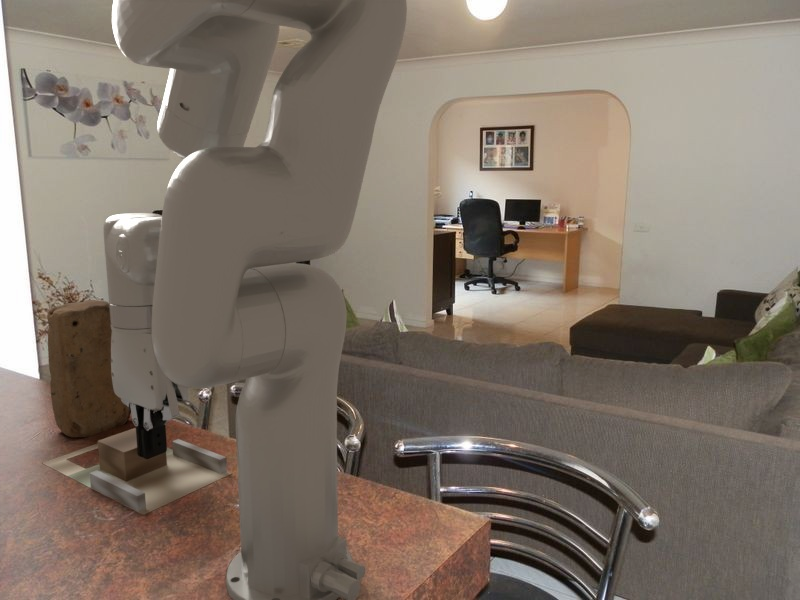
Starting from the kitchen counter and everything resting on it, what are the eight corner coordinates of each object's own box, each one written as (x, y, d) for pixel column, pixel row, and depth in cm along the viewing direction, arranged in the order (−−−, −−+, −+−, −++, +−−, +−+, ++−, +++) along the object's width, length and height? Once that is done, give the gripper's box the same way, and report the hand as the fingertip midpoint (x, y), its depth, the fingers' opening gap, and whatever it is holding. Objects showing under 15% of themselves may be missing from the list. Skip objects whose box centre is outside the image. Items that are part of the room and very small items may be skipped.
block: (71, 444, 98) (59, 312, 94) (50, 431, 103) (37, 304, 99) (141, 424, 106) (132, 301, 102) (119, 412, 111) (109, 294, 107)
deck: (232, 480, 87) (231, 459, 87) (144, 522, 77) (142, 498, 76) (129, 438, 100) (128, 419, 100) (42, 469, 90) (40, 449, 89)
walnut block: (166, 465, 89) (165, 437, 88) (126, 481, 84) (123, 452, 84) (140, 453, 93) (138, 426, 92) (100, 469, 88) (97, 440, 87)
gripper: (207, 318, 80) (214, 459, 84) (134, 302, 89) (143, 431, 93) (153, 330, 74) (163, 481, 78) (80, 311, 83) (92, 449, 87)
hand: (152, 453), depth 85 cm, fingers closed
